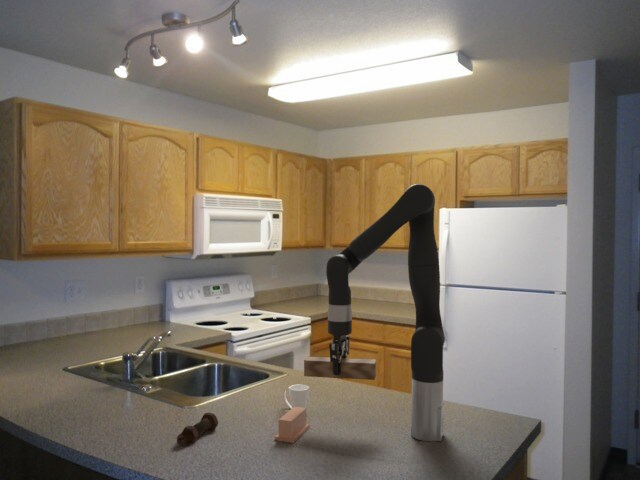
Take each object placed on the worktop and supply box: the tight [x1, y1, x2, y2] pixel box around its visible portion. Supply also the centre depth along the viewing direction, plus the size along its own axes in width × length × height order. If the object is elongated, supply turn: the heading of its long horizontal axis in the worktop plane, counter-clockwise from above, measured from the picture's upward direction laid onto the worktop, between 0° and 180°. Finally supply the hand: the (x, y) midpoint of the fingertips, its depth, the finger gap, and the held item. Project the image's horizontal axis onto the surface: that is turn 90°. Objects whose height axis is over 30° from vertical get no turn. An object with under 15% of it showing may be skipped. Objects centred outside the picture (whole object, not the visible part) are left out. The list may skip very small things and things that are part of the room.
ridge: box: [274, 406, 311, 444], centre depth 159 cm, size 6×13×6 cm, turn 160°
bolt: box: [176, 412, 219, 446], centre depth 156 cm, size 6×5×15 cm
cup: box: [283, 383, 310, 410], centre depth 180 cm, size 7×10×8 cm
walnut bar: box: [303, 356, 377, 381], centre depth 165 cm, size 22×5×5 cm, turn 79°
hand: (339, 372), depth 166 cm, fingers closed on walnut bar, 5 cm apart
